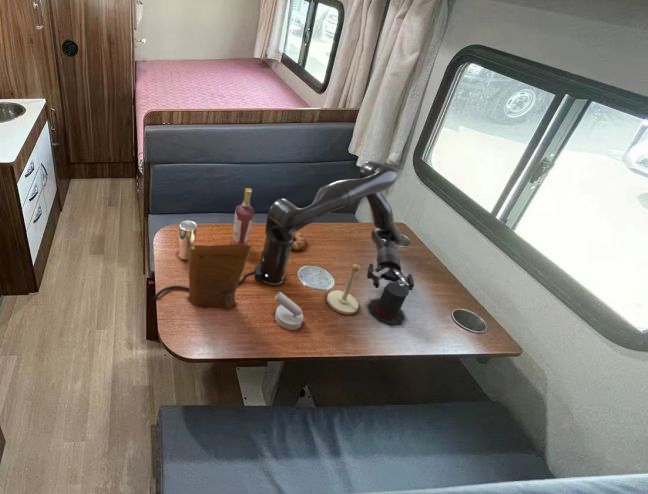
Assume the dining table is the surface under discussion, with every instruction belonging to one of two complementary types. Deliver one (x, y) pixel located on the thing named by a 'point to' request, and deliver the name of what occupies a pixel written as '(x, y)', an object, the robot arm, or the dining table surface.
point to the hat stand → (344, 296)
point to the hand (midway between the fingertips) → (391, 290)
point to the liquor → (243, 220)
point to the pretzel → (298, 241)
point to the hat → (389, 305)
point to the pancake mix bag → (216, 273)
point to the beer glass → (186, 238)
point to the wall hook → (288, 313)
